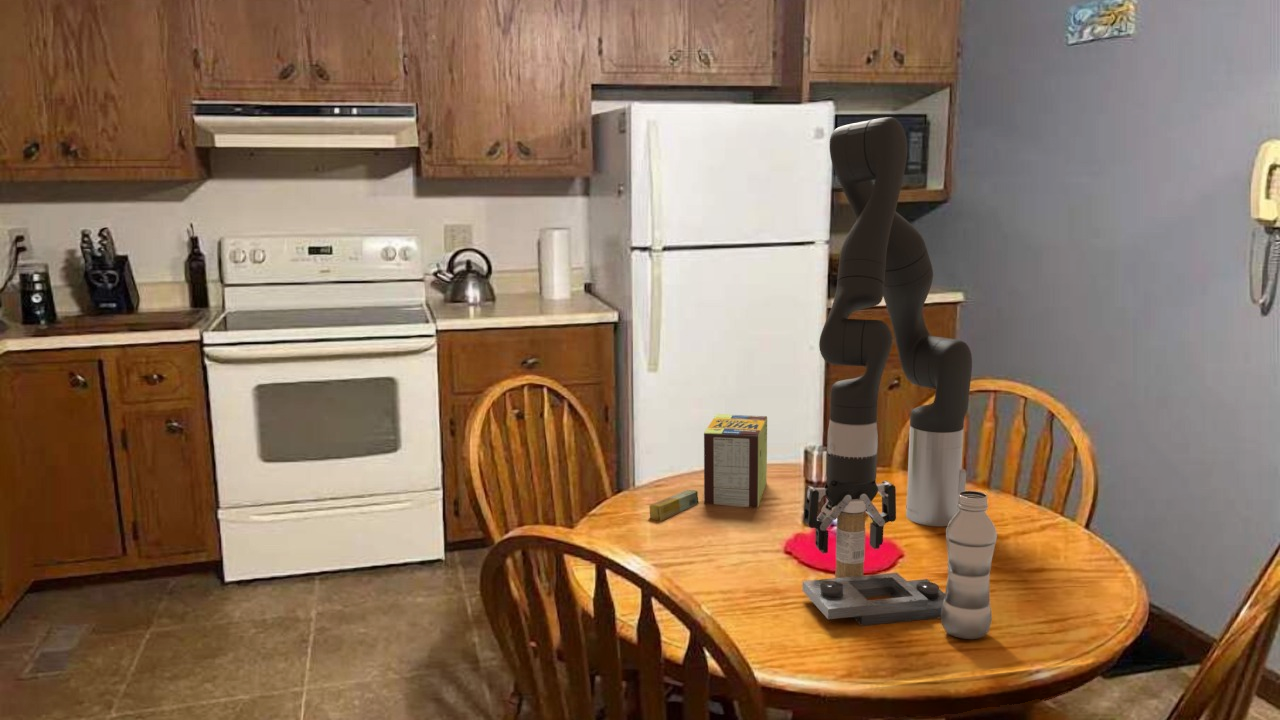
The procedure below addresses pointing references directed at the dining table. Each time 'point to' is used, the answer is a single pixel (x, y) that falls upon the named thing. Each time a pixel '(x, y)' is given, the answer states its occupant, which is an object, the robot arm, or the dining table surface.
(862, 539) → the sprinkles bottle
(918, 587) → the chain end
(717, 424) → the protein box
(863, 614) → the grey slotted fixture plate
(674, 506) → the medication box
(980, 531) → the plastic bottle
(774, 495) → the dining table surface
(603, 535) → the dining table surface
